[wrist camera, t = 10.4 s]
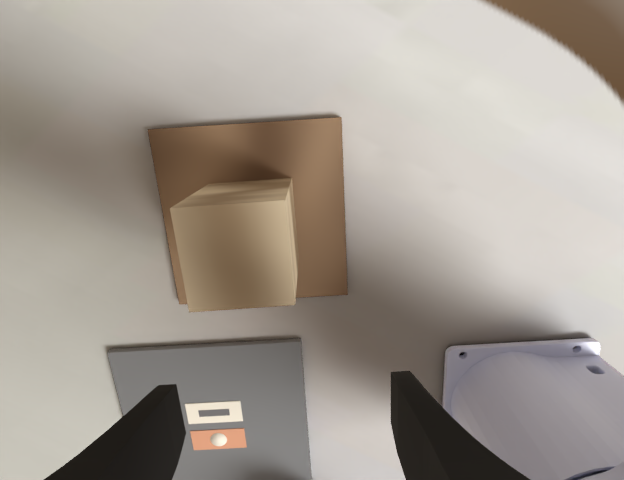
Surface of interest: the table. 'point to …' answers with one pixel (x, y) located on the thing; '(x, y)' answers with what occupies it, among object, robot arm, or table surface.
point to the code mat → (227, 405)
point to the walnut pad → (263, 166)
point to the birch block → (238, 245)
